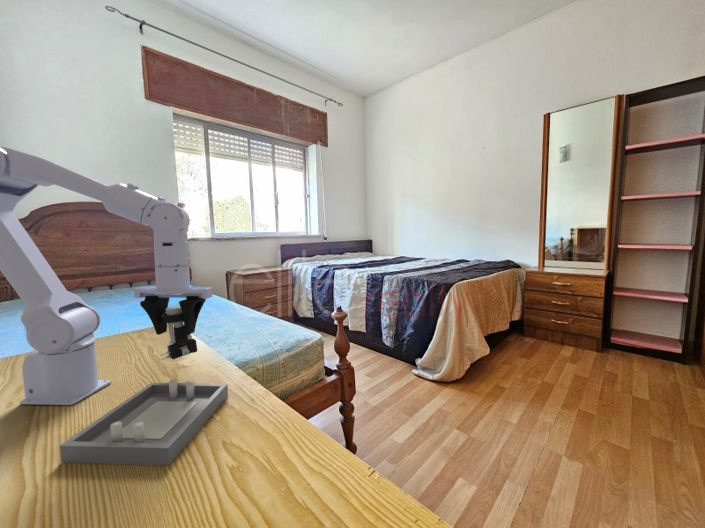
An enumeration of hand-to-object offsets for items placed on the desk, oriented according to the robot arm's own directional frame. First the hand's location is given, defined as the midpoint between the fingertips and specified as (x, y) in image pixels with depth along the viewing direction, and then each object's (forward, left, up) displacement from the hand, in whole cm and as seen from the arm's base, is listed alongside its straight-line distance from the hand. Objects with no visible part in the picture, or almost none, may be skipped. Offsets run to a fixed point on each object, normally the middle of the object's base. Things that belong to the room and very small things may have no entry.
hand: (175, 333), depth 58 cm
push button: (0, +1, -5) cm, 5 cm away
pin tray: (+6, -14, -10) cm, 18 cm away
